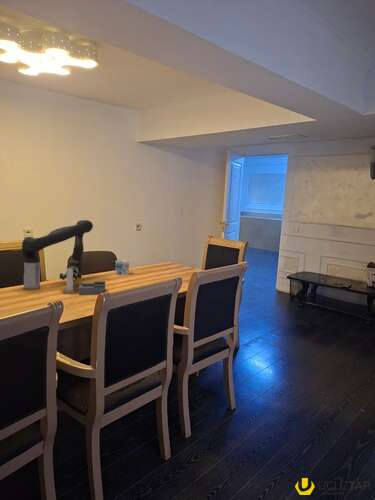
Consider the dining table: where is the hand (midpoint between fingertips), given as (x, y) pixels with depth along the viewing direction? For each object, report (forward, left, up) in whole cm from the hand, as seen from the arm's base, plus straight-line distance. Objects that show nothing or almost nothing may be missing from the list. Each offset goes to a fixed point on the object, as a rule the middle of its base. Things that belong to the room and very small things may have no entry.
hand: (69, 278), depth 217 cm
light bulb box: (+35, +55, -10) cm, 66 cm away
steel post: (0, +2, -9) cm, 10 cm away
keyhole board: (+14, +2, -9) cm, 17 cm away
